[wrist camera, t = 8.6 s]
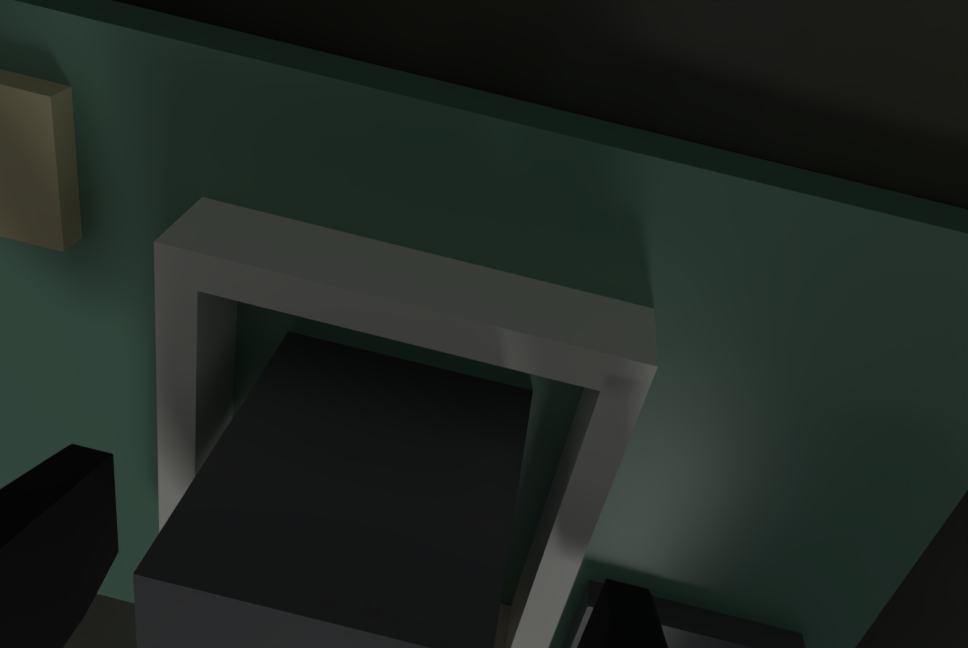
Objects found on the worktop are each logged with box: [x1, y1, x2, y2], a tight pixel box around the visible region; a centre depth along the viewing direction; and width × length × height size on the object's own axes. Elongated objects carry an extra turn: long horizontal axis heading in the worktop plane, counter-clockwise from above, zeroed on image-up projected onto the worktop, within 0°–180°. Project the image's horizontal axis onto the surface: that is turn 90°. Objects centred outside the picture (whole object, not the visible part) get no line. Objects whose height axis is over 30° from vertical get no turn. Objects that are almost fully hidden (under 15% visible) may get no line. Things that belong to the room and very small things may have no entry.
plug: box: [133, 331, 533, 648], centre depth 12 cm, size 4×5×5 cm
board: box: [0, 0, 968, 648], centre depth 14 cm, size 18×12×2 cm, turn 79°
